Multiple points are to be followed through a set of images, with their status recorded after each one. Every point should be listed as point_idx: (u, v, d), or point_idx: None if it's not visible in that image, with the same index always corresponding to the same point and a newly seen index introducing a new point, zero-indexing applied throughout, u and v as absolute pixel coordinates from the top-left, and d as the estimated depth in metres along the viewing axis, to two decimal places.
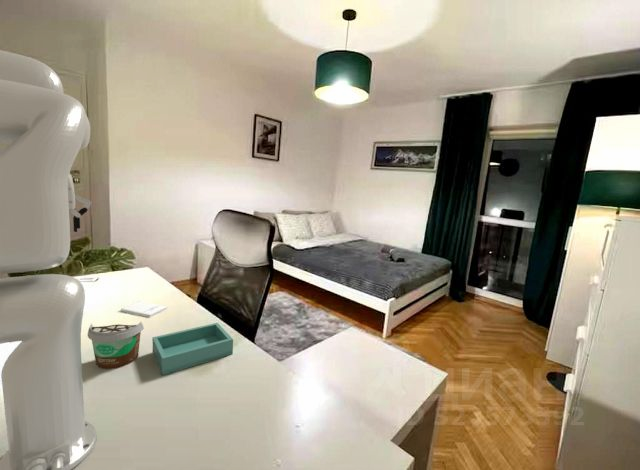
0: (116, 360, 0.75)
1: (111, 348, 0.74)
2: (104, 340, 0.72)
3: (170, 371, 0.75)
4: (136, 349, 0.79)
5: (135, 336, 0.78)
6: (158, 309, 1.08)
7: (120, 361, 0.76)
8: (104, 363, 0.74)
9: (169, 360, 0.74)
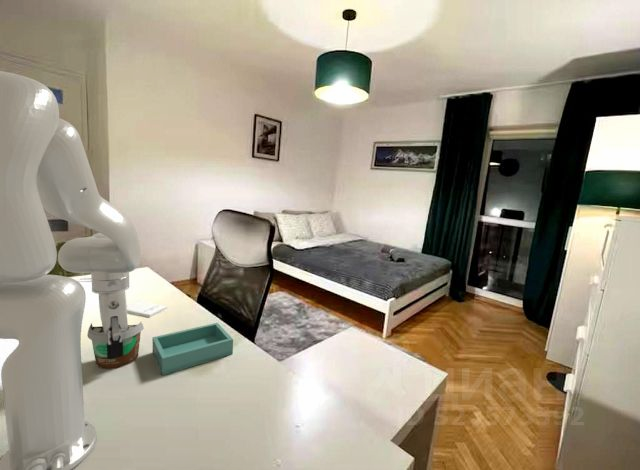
0: (116, 360, 0.75)
1: None
2: (104, 340, 0.72)
3: (170, 371, 0.75)
4: (136, 349, 0.79)
5: (135, 336, 0.78)
6: (158, 309, 1.08)
7: (120, 361, 0.76)
8: (104, 363, 0.74)
9: (169, 360, 0.74)
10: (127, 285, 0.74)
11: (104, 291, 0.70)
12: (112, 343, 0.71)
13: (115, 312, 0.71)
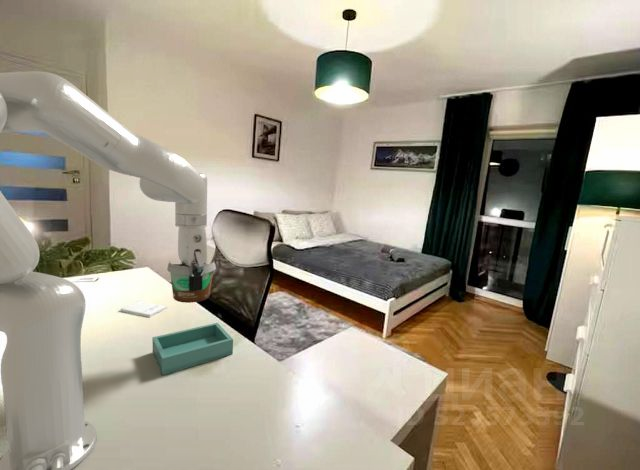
0: (194, 295, 0.80)
1: None
2: (186, 273, 0.77)
3: (170, 371, 0.75)
4: (209, 287, 0.84)
5: (210, 273, 0.82)
6: (158, 309, 1.08)
7: (198, 296, 0.80)
8: (184, 297, 0.79)
9: (169, 360, 0.74)
10: (206, 223, 0.79)
11: (189, 225, 0.75)
12: (195, 275, 0.76)
13: (198, 245, 0.75)
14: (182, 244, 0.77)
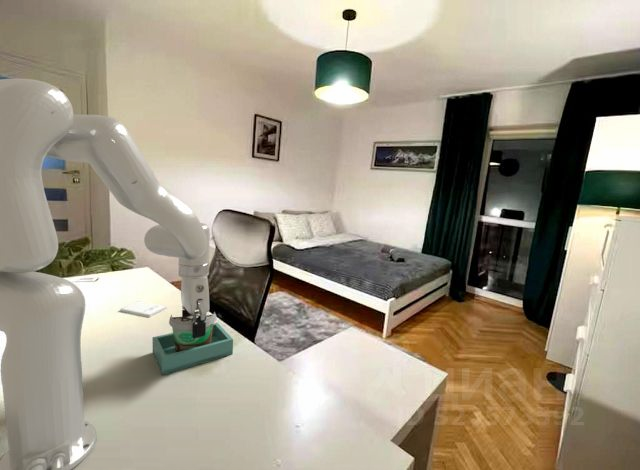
0: None
1: None
2: (188, 328, 0.79)
3: (170, 371, 0.75)
4: (210, 337, 0.86)
5: (211, 325, 0.84)
6: (158, 309, 1.08)
7: None
8: None
9: (169, 360, 0.74)
10: (208, 271, 0.81)
11: (191, 276, 0.77)
12: (198, 323, 0.77)
13: (200, 295, 0.78)
14: (185, 293, 0.79)
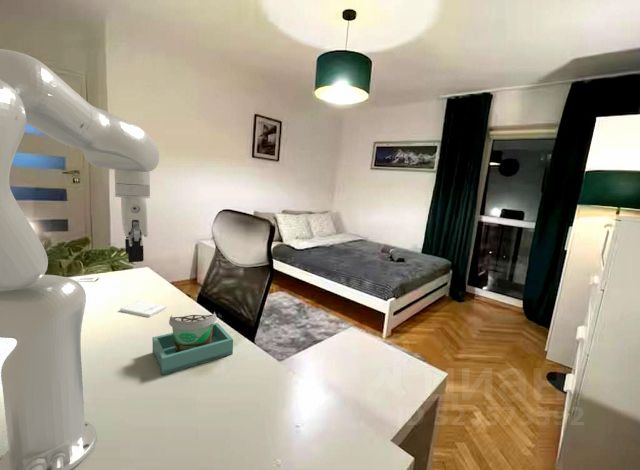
0: None
1: (193, 336, 0.80)
2: (188, 328, 0.79)
3: (170, 371, 0.75)
4: (210, 337, 0.86)
5: (211, 325, 0.84)
6: (158, 309, 1.08)
7: None
8: None
9: (169, 360, 0.74)
10: (148, 194, 0.77)
11: (126, 195, 0.73)
12: (133, 244, 0.73)
13: (136, 216, 0.73)
14: (122, 215, 0.75)
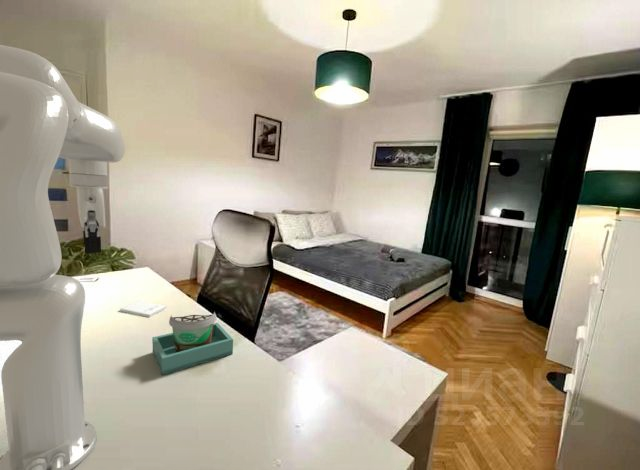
0: None
1: (193, 336, 0.80)
2: (188, 328, 0.79)
3: (170, 371, 0.75)
4: (210, 337, 0.86)
5: (211, 325, 0.84)
6: (157, 309, 1.08)
7: None
8: None
9: (169, 360, 0.74)
10: (105, 185, 0.76)
11: (81, 185, 0.72)
12: (89, 235, 0.72)
13: (92, 206, 0.73)
14: (78, 206, 0.74)
